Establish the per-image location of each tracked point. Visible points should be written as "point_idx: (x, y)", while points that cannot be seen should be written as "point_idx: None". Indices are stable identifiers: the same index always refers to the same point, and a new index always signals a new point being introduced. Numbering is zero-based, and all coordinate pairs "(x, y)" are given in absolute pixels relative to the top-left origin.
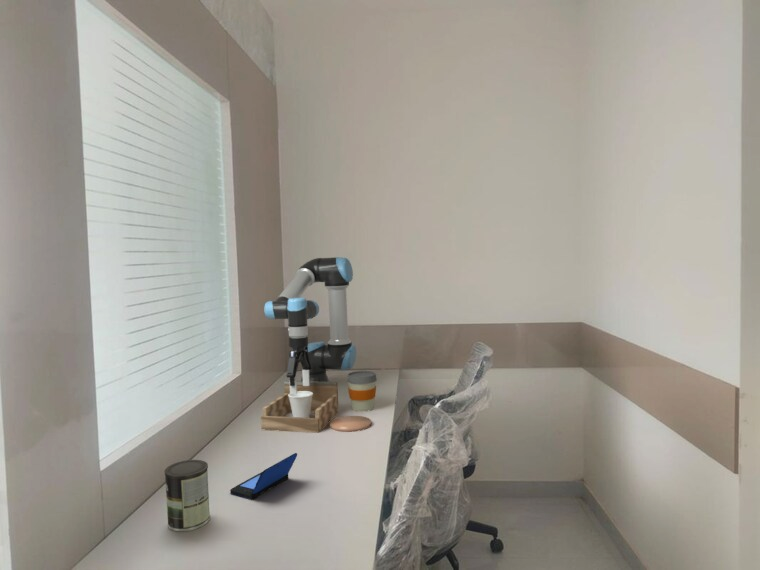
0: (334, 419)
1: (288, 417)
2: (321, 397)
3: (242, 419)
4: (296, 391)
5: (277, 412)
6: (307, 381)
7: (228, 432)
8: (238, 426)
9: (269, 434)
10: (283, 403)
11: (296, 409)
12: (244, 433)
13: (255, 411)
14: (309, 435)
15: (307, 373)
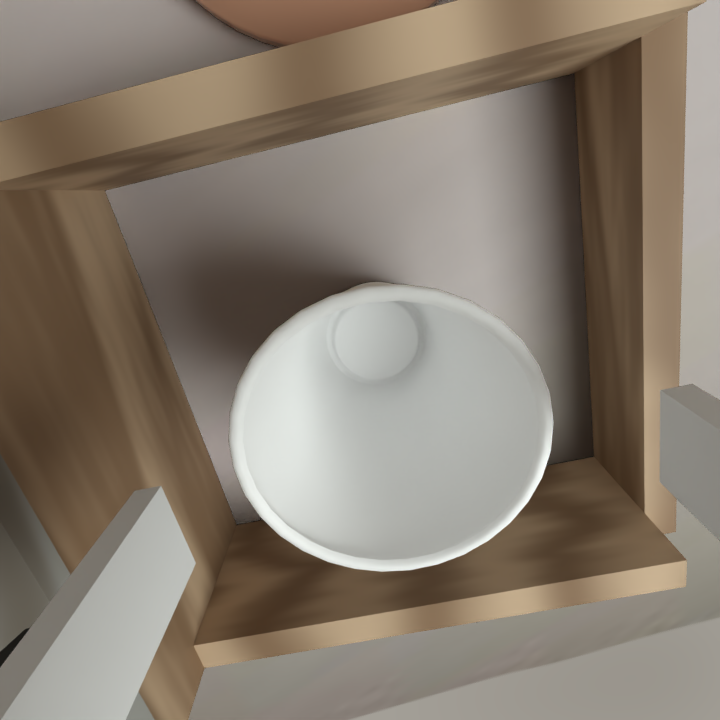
0: (304, 27)
1: (658, 328)
2: (67, 337)
3: (465, 662)
4: (718, 402)
5: None
6: (138, 555)
7: (691, 599)
8: (584, 614)
9: (698, 377)
10: (314, 576)
11: (477, 370)
12: (698, 520)
13: (313, 684)
14: None
15: (41, 703)
